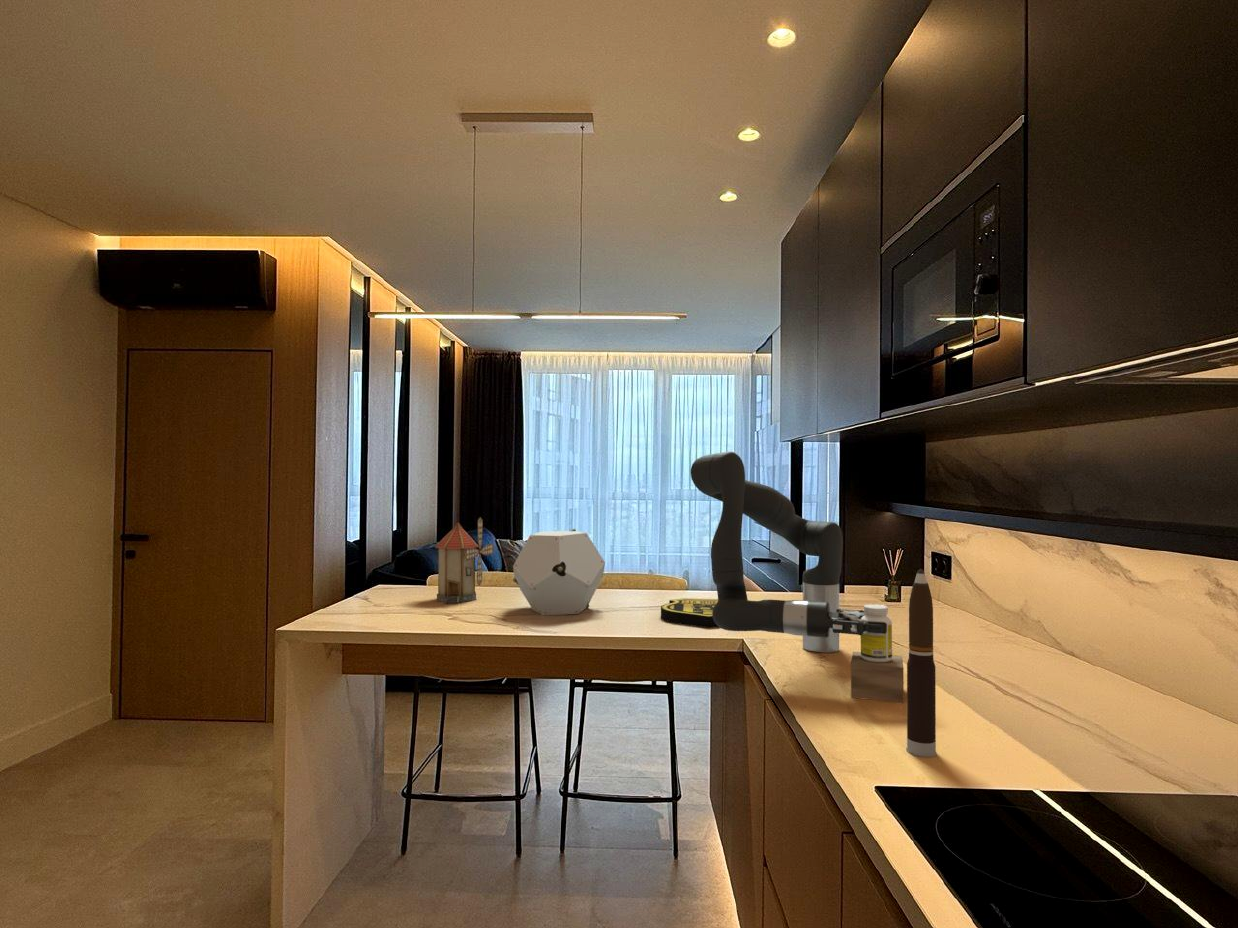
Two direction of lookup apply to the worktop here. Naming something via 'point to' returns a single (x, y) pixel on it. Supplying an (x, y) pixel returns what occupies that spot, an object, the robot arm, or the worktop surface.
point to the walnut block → (877, 679)
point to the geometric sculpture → (559, 571)
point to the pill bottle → (877, 636)
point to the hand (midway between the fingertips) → (886, 623)
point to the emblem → (690, 612)
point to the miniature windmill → (460, 565)
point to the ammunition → (921, 672)
